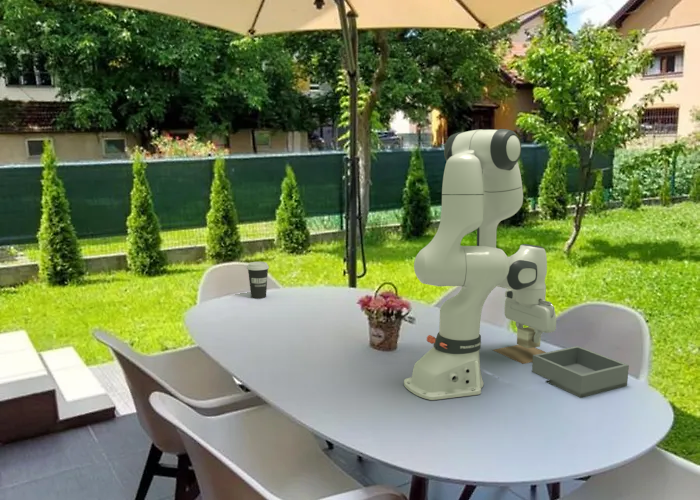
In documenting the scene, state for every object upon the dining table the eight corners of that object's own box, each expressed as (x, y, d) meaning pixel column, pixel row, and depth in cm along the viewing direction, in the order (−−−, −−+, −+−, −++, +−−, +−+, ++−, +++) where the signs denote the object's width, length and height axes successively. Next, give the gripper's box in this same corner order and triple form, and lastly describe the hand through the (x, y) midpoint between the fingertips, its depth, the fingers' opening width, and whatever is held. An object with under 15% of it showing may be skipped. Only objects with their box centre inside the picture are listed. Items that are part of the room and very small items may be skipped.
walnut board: (522, 367, 181) (522, 363, 181) (491, 352, 193) (492, 349, 193) (556, 359, 187) (556, 356, 187) (524, 346, 200) (525, 343, 199)
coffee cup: (244, 299, 260) (243, 265, 258) (251, 293, 269) (250, 261, 267) (265, 300, 259) (265, 265, 256) (272, 294, 268) (271, 261, 265)
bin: (580, 397, 159) (582, 376, 158) (531, 374, 175) (533, 355, 174) (627, 385, 167) (628, 365, 166) (576, 364, 183) (577, 345, 182)
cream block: (527, 348, 185) (528, 332, 184) (516, 344, 189) (517, 328, 189) (540, 346, 187) (541, 330, 186) (529, 342, 191) (530, 326, 191)
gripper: (562, 302, 178) (560, 347, 180) (517, 289, 196) (515, 330, 198) (545, 304, 175) (543, 349, 177) (501, 290, 194) (500, 332, 196)
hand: (528, 339), depth 188 cm, fingers closed on cream block, 5 cm apart
